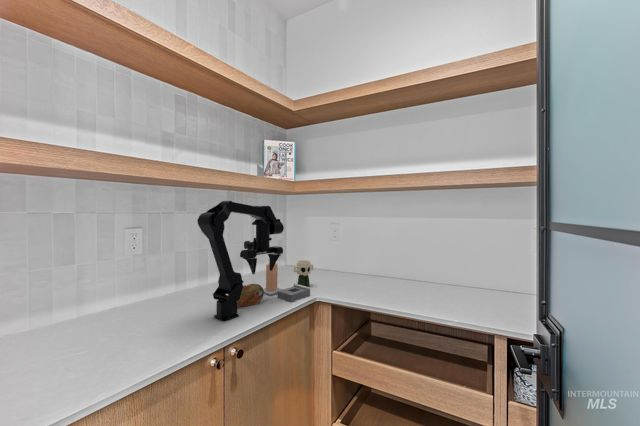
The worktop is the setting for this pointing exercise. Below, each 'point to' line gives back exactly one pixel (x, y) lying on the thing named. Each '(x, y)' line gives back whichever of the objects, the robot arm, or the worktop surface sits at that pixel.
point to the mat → (271, 292)
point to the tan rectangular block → (271, 278)
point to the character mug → (303, 272)
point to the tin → (250, 295)
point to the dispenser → (294, 293)
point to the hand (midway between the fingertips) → (262, 272)
